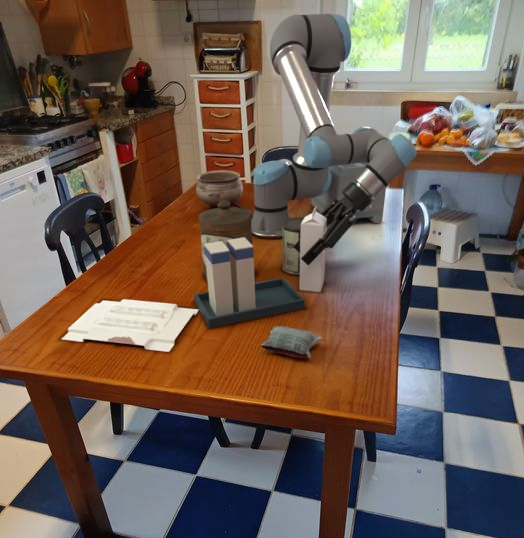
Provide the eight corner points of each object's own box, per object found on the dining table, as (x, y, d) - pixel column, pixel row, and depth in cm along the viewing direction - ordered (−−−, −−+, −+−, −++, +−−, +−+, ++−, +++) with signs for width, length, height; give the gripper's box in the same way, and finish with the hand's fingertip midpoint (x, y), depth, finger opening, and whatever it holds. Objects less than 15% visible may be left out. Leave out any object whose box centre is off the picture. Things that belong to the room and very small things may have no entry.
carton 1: (209, 305, 128) (203, 243, 118) (226, 301, 129) (221, 240, 120) (216, 316, 122) (210, 253, 113) (233, 313, 124) (229, 250, 114)
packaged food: (274, 335, 115) (274, 317, 113) (322, 345, 111) (323, 327, 108) (259, 354, 109) (258, 336, 106) (309, 366, 105) (310, 347, 102)
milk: (299, 290, 135) (300, 212, 123) (303, 281, 140) (304, 205, 127) (321, 292, 133) (324, 213, 121) (324, 282, 138) (327, 206, 126)
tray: (195, 302, 130) (194, 294, 129) (282, 285, 137) (282, 277, 136) (209, 328, 119) (208, 319, 117) (304, 308, 126) (304, 299, 125)
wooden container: (195, 281, 141) (187, 206, 129) (217, 262, 152) (211, 191, 140) (243, 288, 136) (239, 211, 124) (261, 268, 148) (259, 195, 136)
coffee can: (317, 262, 151) (319, 217, 143) (314, 276, 142) (315, 229, 134) (285, 260, 152) (285, 216, 145) (279, 274, 144) (279, 228, 136)
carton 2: (231, 300, 129) (227, 239, 120) (247, 297, 131) (244, 237, 121) (239, 311, 124) (235, 249, 115) (255, 308, 125) (253, 246, 116)
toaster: (339, 232, 172) (343, 172, 161) (310, 204, 199) (311, 152, 188) (387, 226, 176) (394, 167, 164) (352, 200, 203) (356, 148, 191)
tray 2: (102, 300, 133) (100, 288, 131) (199, 312, 128) (198, 300, 126) (60, 339, 116) (56, 326, 114) (170, 355, 111) (168, 342, 109)
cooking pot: (237, 216, 189) (235, 184, 183) (190, 215, 192) (187, 183, 185) (248, 197, 210) (247, 168, 203) (205, 196, 213) (203, 167, 206)
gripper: (387, 212, 117) (320, 279, 124) (357, 189, 134) (300, 250, 141) (368, 191, 114) (300, 262, 120) (340, 171, 131) (282, 234, 137)
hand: (300, 255), depth 131 cm, fingers closed on milk, 8 cm apart
